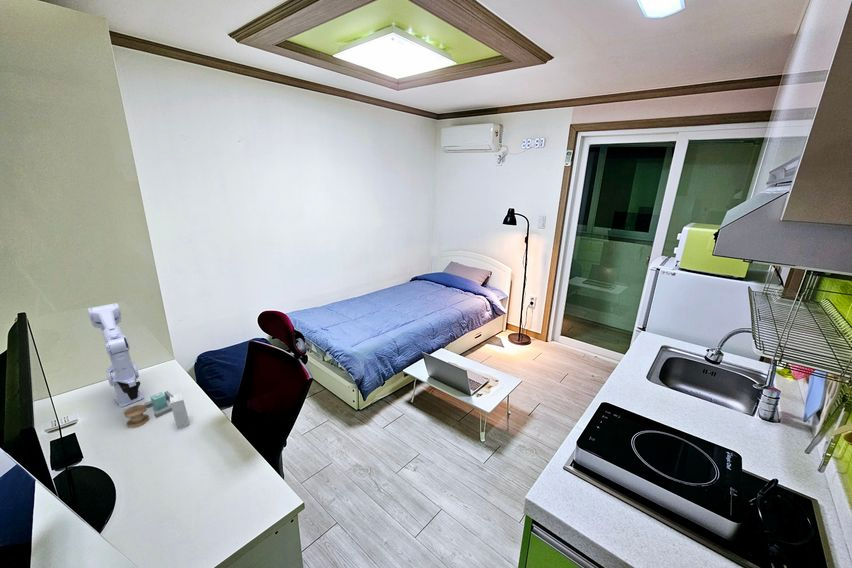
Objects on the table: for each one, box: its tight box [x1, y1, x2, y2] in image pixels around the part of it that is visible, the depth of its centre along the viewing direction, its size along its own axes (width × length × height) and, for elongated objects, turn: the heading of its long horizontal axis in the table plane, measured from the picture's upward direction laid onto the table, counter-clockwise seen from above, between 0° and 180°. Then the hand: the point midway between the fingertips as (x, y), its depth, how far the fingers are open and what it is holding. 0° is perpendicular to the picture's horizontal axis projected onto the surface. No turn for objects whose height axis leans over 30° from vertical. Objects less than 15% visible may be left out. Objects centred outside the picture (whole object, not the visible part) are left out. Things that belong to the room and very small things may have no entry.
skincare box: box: [169, 392, 190, 429], centre depth 138 cm, size 6×4×12 cm
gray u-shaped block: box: [144, 390, 174, 418], centre depth 148 cm, size 12×9×3 cm
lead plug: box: [150, 392, 169, 412], centre depth 147 cm, size 4×4×7 cm
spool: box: [123, 404, 150, 428], centre depth 139 cm, size 7×7×6 cm
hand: (130, 395), depth 141 cm, fingers open, 7 cm apart
